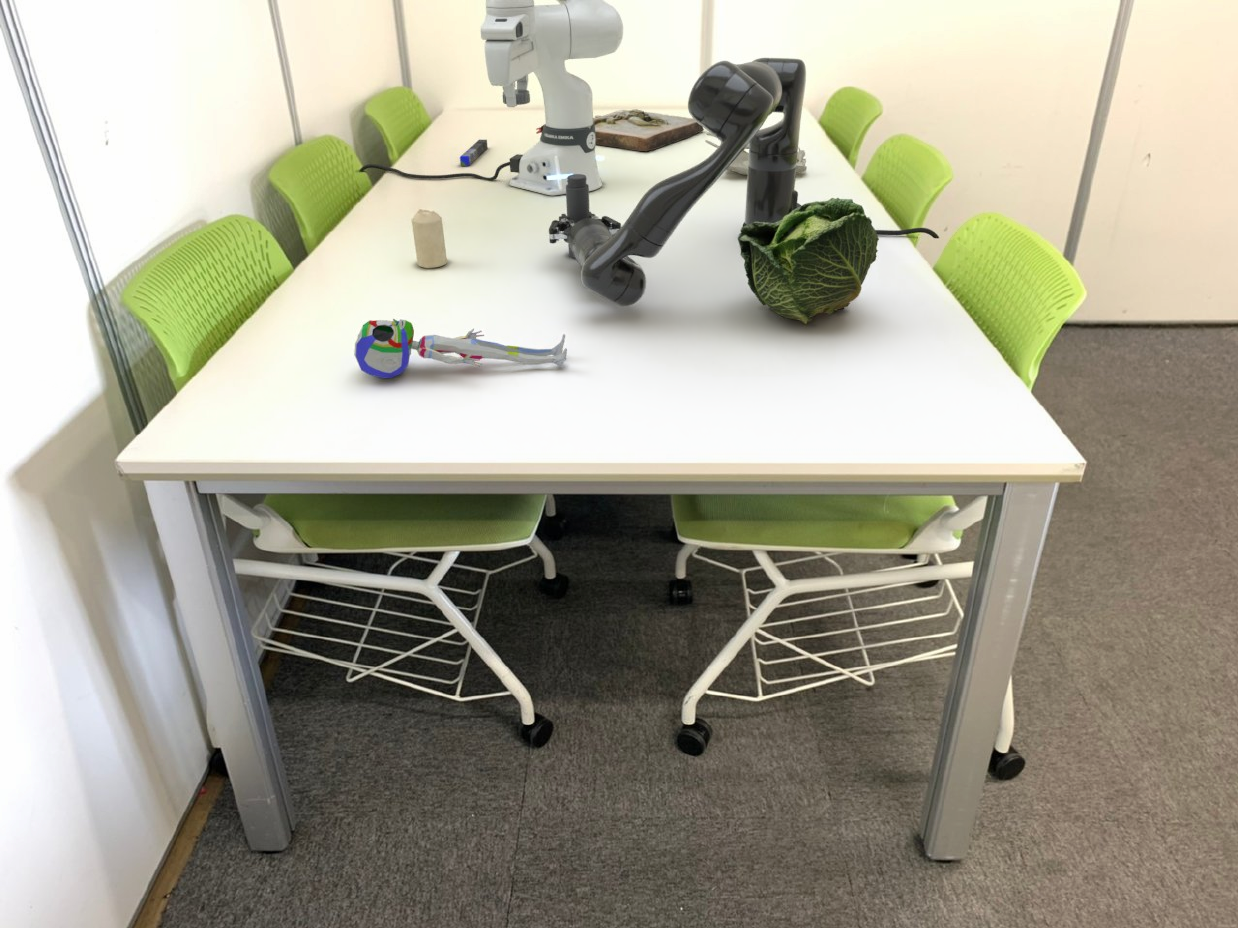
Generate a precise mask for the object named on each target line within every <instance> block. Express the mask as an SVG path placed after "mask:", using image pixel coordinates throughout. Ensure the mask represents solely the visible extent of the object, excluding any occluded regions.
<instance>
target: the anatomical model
mask: <svg viewBox="0 0 1238 928" xmlns="http://www.w3.org/2000/svg"><path fill="white" fill-rule="evenodd" d="M705 135H706V136H710V137H714V138H716V137H715V136H714V135H712V134H711V133H710V132H709V131H707V132H706V134H705ZM705 143H707V145H710V146H712V147H714V148H716V149H717V148H718V147H719V146H720V145H719V144H716V143H714V142H712V141H710V140H707V139H705ZM749 144H750V142H749V143H748V145H747V146H746V147H745V148H744V149H743V151H742V152H741V153H740V154H739V155H738V156H737V158H736V159H735V160H734V161H733V162H732V163H731V165H730V166H729V167H728V168H727V169H726V170H727V171H729V172H736V173H737V174H739V175H742V176H748V160H749V151H746V150H749ZM805 156H806V152H805V150H801V148H800V147H798V153H797V164H796V174H798V173H803V172H805V171H807V170H808V168H807V165H806V164H807V159H806V158H805Z"/></svg>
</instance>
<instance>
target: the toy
mask: <svg viewBox="0 0 1238 928" xmlns="http://www.w3.org/2000/svg"><path fill="white" fill-rule="evenodd" d="M474 331H475V328H472V329H471V330H469V331H468V332H467V333H466V334H465V335H463V336H458V337H449V336H448V337H447V336H442V335H439V334H428V335H423V336H421V338H420V339H419V341H417V340H414V336H415V329H414V326H413V324H412V322H410V321H408V320H407V319H399V320H397V319H395V318H392V320H387V319H379V320H368V321H367V322H365V323H364V324H362V326H361V329H360V331H359V333H358V334H357V338H356V340H355V342H354V354H353V355H354V357H355V359H356V362H357V364H358V366H359V369H360V370H361V372H364V373H366V374H367V375H370V376H373V377H377V378H382V379H383V378H384V379H392V378H394V377H396V376H398V375H400V374H401V375H402V374H403V372H404V371H405V370H406V368H407V367H408V366H409V364H410V357H411V355H412V350H415V351H417V353H418V356H419V357H421V358H422V359H430V360H434V361H438V362H442V363H444V364H449V365H458V364H459V365H461V364H465V365H471V366H477V367H479V368H480V367H481V366H482V365H483V363H482V362H478V361H480V360H482V359H487V360H488V359H489V360H503V361H509V362H514V363H517V364H520V365H528V366H529V365H542V364H550V363H553V364H555V365H557V366H559V367H562V366H563V364H564V362H565V361H566V360H567V357H568V355H567V353H568V348H566V347H565V348H564V345H565V340H566V334H565V333H563V334H562V338H561V340H560V341H559V343H558V344H556V345H555V346H554V347H552V348H533V347H532V348H531V347H523V346H518V345H517V346H516V345H504V344H501V343H498V342H494V341H488V340H482V339H478V338H479V337H480V338H481V337H485V334H480V333H482V332H483V331H482V330H479V331H476V332H474ZM563 349H564V350H563ZM453 353H455V354H457V355H459V357H458V356H455V355H448V354H453ZM445 354H447V355H445Z"/></svg>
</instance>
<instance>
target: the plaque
mask: <svg viewBox="0 0 1238 928" xmlns="http://www.w3.org/2000/svg"><path fill="white" fill-rule="evenodd" d="M593 123H594V124H595V133H596V144H595V145H597V146H598V145H599V146H607V147H612V148H620V149H625V150H632V151H640V152H648V151H654V150H656V149H659V148H662V147H663V146H664V147H665V146H667V145H670V144H672V143H676V142H680V141H682V140H684V139H687V138H691V137H692V136H694V135H696V134H698V133H700V132H704V130H705V128H704V127H702V126H701V125H700V124H698V123H697V122H696V121H695V120H694V119H693V117H685V116H679V115H669V114H663V113H659V112H650V111H644V110H642V109H637V108H636V109H635V108H634V109H630V110H629V109H620V110H616V111H613V112H610V113H608V114H602V115H594V117H593Z"/></svg>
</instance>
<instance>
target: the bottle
mask: <svg viewBox="0 0 1238 928" xmlns="http://www.w3.org/2000/svg"><path fill="white" fill-rule="evenodd" d="M567 178H568V180H567V182H568V184H567V185H566V194H565V201H566V203H565V205H566V216H567V217H568V220H571V219H573V220H575V221H576V222H578V221H580V220H582V219H585V218H590V212H591V211H590V191H589V185H588V184H586V180H587V178H586V176H585V175H582V174H572V175H569V176H568V177H567ZM567 244H568V246H567V247H568V257H569V258H571V259H575V260H577V259H576V258H575V257H574V254H573V252H572V250H571V248H570V246H569V243H567Z"/></svg>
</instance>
